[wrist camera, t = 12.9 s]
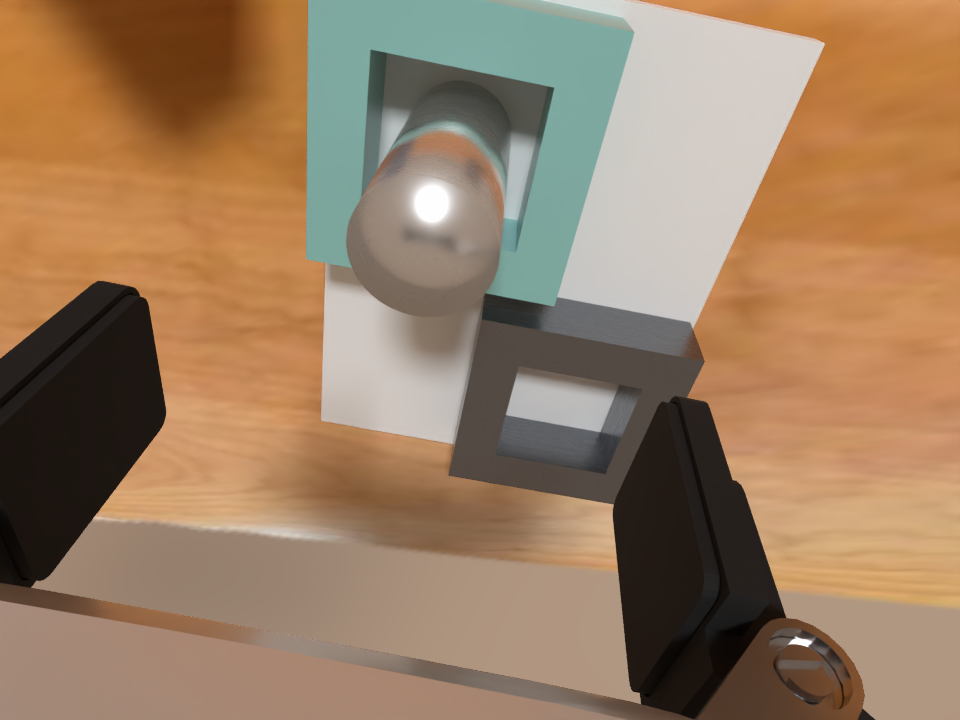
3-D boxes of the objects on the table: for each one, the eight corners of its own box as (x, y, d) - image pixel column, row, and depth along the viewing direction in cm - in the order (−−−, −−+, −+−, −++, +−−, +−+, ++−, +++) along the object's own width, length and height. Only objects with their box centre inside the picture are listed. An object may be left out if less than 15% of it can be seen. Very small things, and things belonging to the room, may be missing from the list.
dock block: (623, 17, 21) (634, 32, 19) (552, 270, 27) (554, 306, 25) (334, -45, 21) (308, -37, 18) (326, 227, 27) (306, 259, 24)
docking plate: (814, 38, 22) (825, 43, 21) (623, 461, 35) (625, 474, 34) (342, -63, 21) (335, -62, 21) (325, 408, 34) (320, 420, 34)
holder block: (690, 322, 28) (704, 361, 26) (625, 464, 34) (632, 507, 32) (486, 283, 28) (481, 319, 25) (454, 434, 34) (448, 475, 31)
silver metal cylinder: (521, 92, 23) (514, 194, 15) (500, 194, 25) (485, 329, 17) (415, 70, 23) (349, 161, 15) (403, 175, 25) (343, 302, 17)
